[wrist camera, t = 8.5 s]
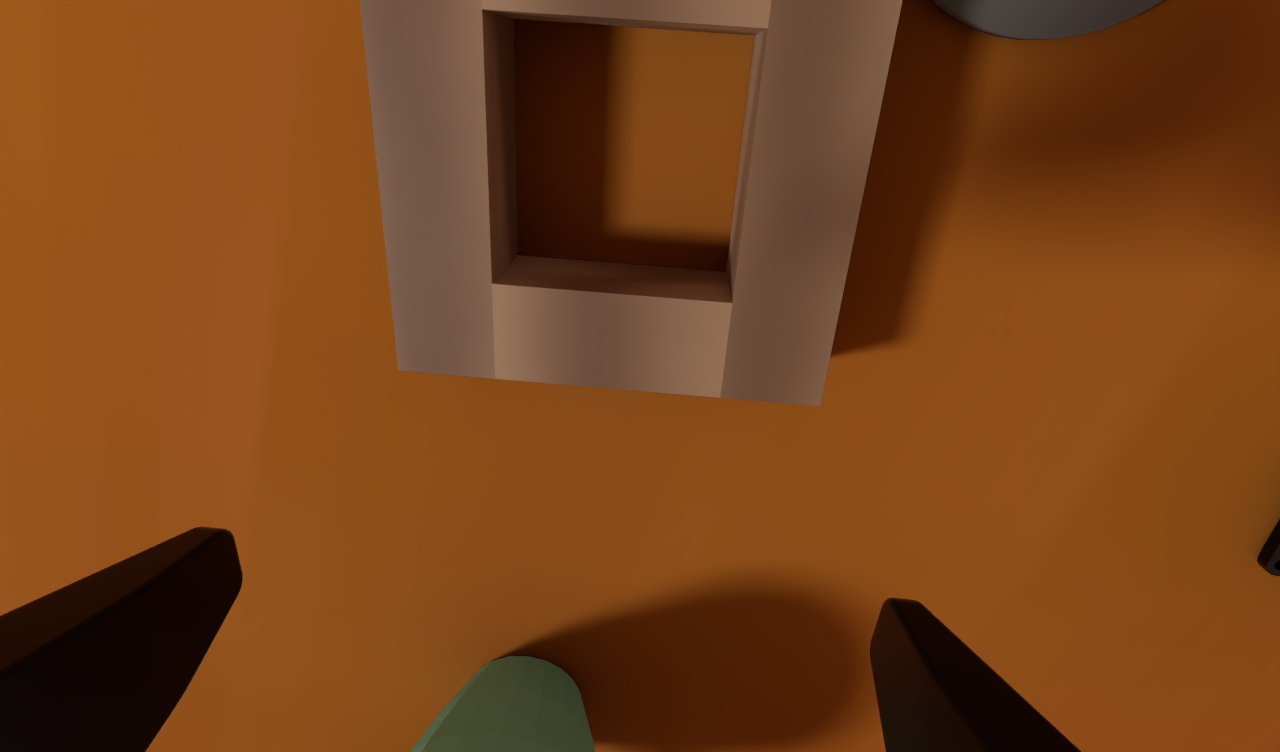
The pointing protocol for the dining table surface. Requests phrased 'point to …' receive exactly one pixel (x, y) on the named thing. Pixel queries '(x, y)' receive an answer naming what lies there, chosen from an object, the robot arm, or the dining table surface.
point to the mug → (512, 712)
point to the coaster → (1042, 16)
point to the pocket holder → (616, 292)
